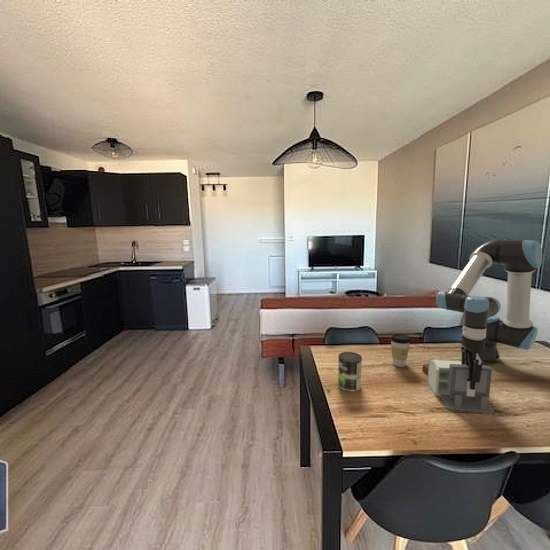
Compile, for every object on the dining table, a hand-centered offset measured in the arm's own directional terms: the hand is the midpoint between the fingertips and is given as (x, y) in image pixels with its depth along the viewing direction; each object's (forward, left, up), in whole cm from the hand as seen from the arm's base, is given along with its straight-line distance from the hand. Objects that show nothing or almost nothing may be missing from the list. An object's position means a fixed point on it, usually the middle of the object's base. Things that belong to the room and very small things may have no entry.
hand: (468, 393), depth 120 cm
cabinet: (0, -6, -6) cm, 8 cm away
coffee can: (+45, -10, -6) cm, 46 cm away
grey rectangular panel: (0, 0, -1) cm, 1 cm away
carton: (0, -26, -6) cm, 27 cm away
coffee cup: (+18, -35, -6) cm, 40 cm away
